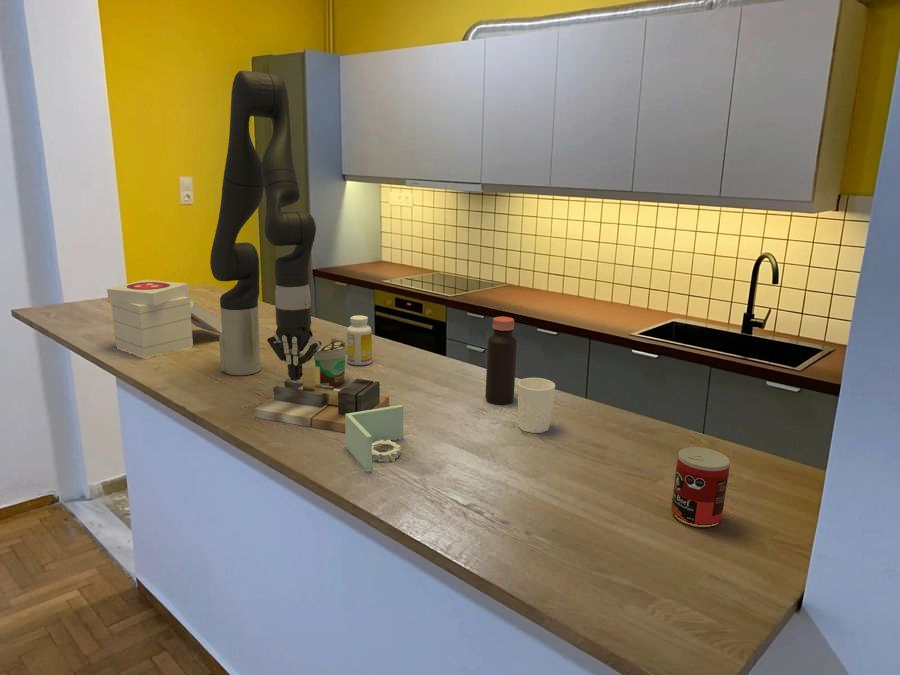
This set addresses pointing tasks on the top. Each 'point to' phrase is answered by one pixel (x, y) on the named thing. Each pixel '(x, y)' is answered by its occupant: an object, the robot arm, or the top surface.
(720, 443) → the top surface
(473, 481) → the top surface
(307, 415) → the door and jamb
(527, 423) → the white cup
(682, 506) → the canned food
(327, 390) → the wooden t-shaped block
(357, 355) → the supplement bottle
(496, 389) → the vinegar
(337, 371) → the food container
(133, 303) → the pizza boxes
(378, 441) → the l-shaped corner panel
